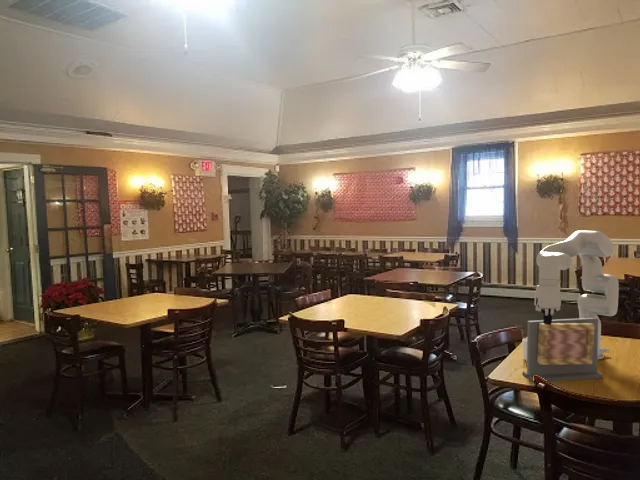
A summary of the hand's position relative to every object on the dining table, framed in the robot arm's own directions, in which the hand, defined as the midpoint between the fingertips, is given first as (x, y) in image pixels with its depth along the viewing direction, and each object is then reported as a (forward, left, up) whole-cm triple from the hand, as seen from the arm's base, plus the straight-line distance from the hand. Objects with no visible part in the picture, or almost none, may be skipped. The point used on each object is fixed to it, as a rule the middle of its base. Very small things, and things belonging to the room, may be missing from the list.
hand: (547, 323), depth 217 cm
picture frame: (-8, 0, -18) cm, 20 cm away
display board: (-9, -3, -26) cm, 27 cm away
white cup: (-7, -27, -26) cm, 38 cm away
